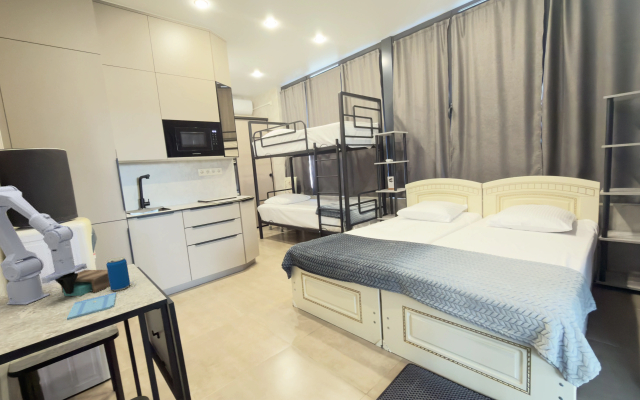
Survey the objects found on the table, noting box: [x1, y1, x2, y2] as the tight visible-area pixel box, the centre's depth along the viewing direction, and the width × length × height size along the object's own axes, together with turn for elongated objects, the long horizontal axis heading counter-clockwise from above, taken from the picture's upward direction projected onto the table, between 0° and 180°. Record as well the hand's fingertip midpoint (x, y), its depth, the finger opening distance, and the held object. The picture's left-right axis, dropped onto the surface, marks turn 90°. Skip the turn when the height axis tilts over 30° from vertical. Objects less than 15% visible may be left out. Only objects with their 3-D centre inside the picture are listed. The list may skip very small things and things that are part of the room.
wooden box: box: [60, 269, 110, 294], centre depth 114 cm, size 16×10×6 cm, turn 81°
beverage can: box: [105, 256, 131, 292], centre depth 110 cm, size 6×6×12 cm
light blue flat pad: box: [66, 291, 117, 321], centre depth 97 cm, size 14×12×1 cm
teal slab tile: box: [63, 282, 93, 297], centre depth 112 cm, size 8×10×3 cm
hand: (69, 293), depth 106 cm, fingers closed
